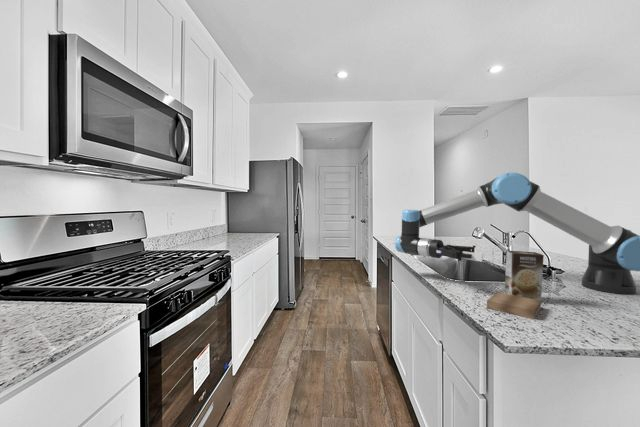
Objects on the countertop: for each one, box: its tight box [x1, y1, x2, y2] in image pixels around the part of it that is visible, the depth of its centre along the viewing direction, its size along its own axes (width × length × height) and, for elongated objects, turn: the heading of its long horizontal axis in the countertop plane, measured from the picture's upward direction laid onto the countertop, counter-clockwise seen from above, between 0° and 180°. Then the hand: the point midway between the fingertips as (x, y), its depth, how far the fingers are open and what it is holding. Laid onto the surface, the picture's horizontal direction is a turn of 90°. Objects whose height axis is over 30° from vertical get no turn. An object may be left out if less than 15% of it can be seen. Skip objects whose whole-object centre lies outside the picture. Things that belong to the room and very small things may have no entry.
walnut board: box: [486, 291, 542, 320], centre depth 91 cm, size 12×12×2 cm
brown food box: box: [504, 250, 545, 301], centre depth 100 cm, size 9×6×16 cm
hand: (488, 255), depth 107 cm, fingers open, 13 cm apart
